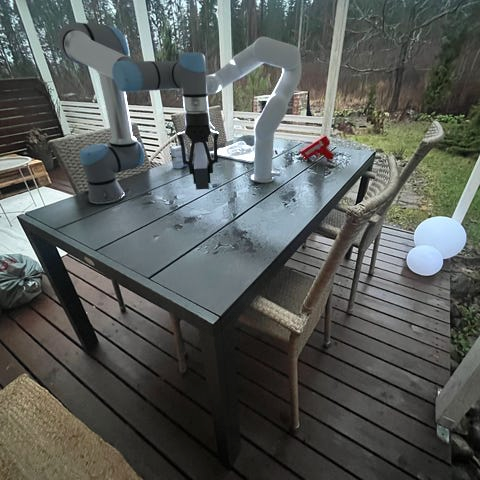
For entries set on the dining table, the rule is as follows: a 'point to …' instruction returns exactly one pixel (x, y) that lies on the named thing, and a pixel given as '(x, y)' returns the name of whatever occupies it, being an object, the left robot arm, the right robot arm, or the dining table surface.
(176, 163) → the ink box
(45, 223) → the dining table surface
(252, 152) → the relief map
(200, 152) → the bar
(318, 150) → the toy gun
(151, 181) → the dining table surface
